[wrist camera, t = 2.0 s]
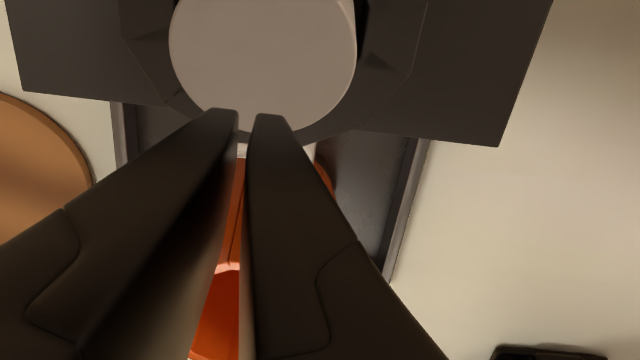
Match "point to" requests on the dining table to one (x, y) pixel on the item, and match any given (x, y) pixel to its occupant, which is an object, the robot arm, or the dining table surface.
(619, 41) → the dining table surface
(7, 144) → the cork coaster
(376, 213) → the drip tray
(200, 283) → the robot arm
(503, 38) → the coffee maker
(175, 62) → the button
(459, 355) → the dining table surface
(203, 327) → the orange cup
